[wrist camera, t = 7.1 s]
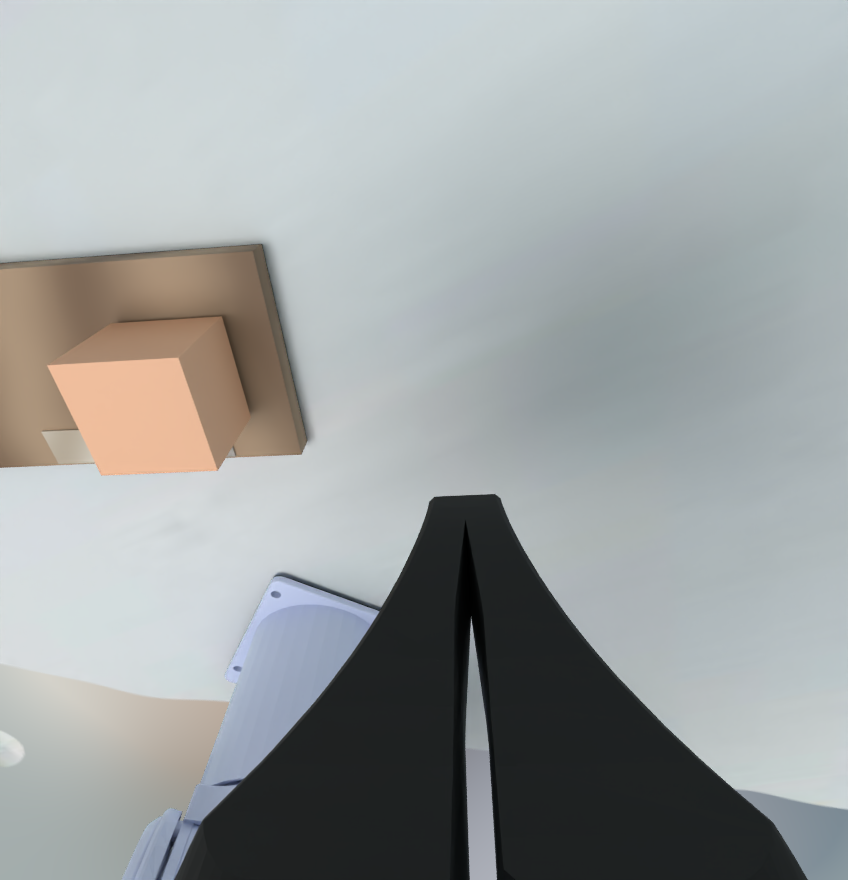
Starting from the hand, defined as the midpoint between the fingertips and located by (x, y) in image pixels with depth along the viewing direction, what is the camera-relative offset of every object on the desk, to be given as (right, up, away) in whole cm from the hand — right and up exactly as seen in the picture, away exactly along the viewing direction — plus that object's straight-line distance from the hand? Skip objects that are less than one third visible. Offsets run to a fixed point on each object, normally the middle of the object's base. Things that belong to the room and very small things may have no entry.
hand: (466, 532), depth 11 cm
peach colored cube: (-10, +4, +9) cm, 14 cm away
